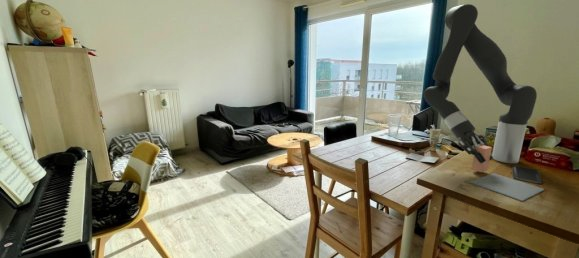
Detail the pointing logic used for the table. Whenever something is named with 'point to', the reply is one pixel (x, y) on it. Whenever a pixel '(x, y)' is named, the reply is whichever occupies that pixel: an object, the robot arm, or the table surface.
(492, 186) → the mat
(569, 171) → the table surface
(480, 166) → the block
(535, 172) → the phone
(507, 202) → the table surface
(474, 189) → the table surface
